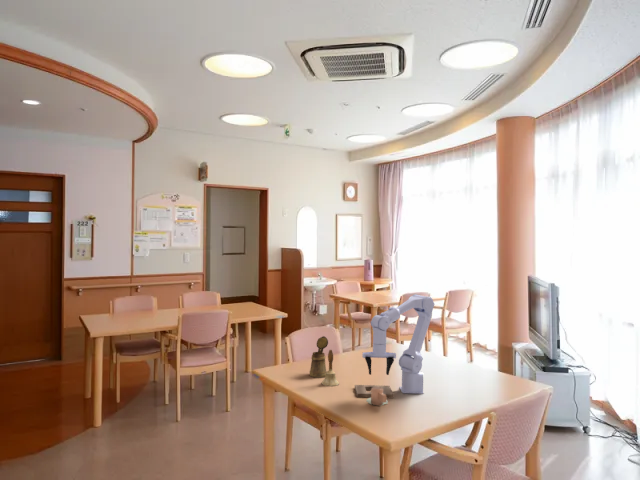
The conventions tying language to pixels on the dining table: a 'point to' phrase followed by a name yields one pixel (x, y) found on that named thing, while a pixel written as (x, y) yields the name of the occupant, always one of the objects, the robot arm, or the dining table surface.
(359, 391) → the walnut stand
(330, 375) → the hand bell
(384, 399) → the peach rounded piece
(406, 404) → the dining table surface
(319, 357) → the wooden mug
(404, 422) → the dining table surface
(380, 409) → the dining table surface
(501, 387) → the dining table surface
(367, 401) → the sage mat
